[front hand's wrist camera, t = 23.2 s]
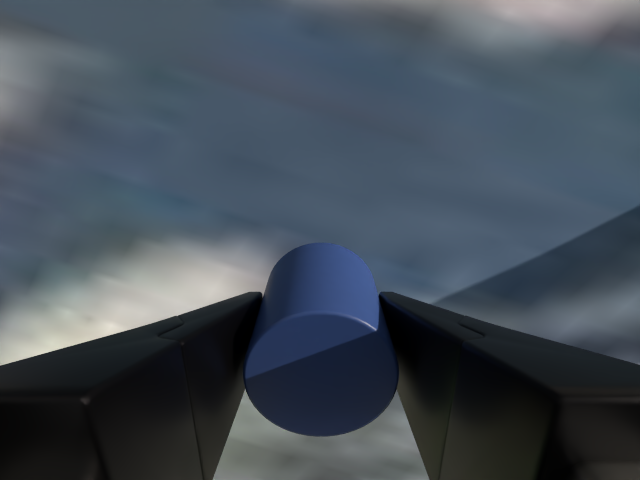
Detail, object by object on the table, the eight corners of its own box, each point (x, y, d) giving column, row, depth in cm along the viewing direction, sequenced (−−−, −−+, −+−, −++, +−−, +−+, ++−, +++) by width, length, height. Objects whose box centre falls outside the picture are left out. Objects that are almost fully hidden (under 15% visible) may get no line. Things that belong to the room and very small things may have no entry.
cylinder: (308, 353, 13) (302, 458, 9) (245, 279, 12) (208, 363, 8) (394, 303, 13) (429, 395, 9) (335, 220, 11) (343, 281, 8)
